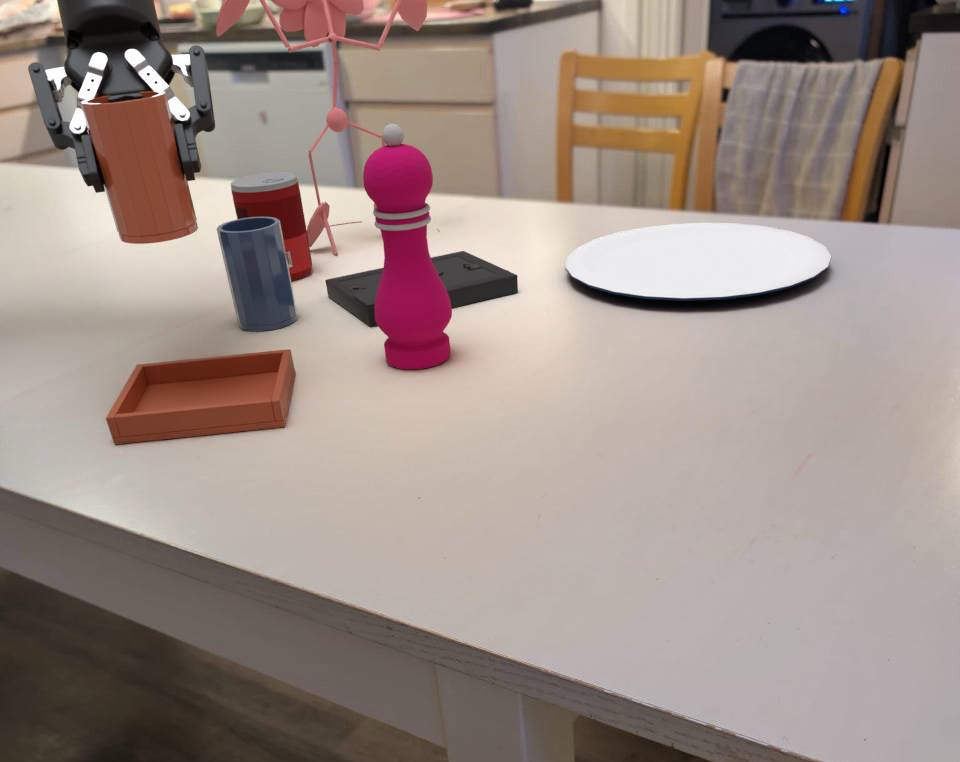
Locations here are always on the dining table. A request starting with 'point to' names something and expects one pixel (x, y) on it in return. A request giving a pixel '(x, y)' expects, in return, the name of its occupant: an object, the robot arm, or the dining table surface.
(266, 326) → the blue cup
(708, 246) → the plate
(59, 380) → the dining table surface
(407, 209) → the pepper mill
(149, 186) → the terracotta cup
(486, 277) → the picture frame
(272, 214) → the canned food
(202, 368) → the tray
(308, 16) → the figurine
